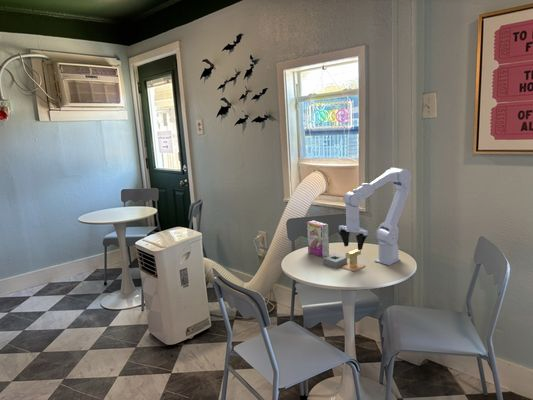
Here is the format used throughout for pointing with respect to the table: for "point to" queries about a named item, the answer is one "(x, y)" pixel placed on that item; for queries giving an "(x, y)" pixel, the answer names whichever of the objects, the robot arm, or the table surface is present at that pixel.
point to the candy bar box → (318, 238)
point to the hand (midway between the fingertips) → (353, 247)
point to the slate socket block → (335, 260)
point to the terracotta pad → (352, 267)
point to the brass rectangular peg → (353, 257)
